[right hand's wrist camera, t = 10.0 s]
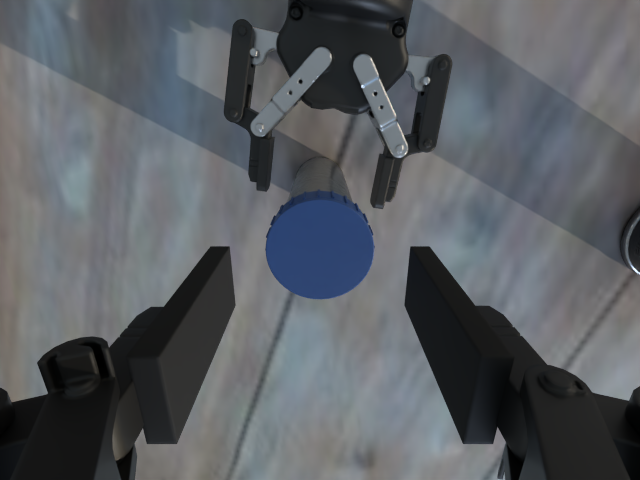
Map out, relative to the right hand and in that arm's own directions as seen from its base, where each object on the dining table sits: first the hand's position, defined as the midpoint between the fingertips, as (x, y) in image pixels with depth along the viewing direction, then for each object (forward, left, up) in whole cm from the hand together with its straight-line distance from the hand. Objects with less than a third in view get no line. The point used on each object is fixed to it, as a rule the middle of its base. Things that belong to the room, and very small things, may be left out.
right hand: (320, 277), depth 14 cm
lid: (0, 0, -3) cm, 3 cm away
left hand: (0, 0, -13) cm, 13 cm away
